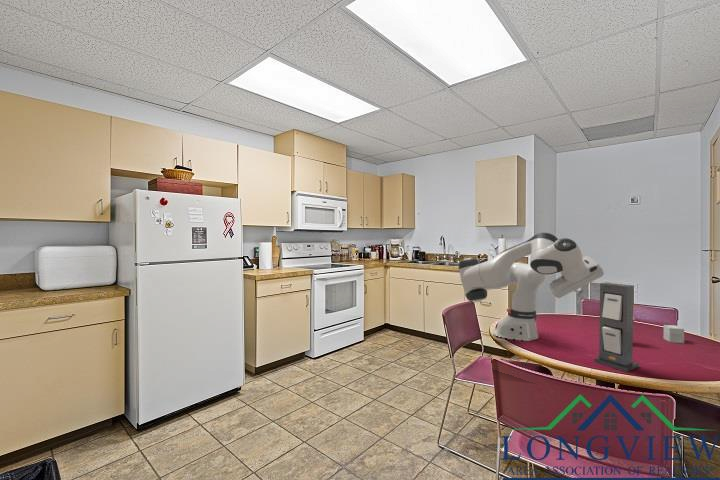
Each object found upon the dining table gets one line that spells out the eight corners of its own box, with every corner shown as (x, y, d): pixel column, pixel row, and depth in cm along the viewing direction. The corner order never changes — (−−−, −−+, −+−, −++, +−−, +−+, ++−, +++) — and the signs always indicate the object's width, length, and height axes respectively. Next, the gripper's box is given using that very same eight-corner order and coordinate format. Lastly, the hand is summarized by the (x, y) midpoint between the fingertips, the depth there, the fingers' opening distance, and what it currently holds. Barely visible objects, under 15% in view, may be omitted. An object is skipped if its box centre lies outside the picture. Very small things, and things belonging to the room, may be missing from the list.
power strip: (627, 372, 135) (628, 287, 134) (594, 361, 146) (595, 283, 145) (639, 366, 140) (640, 285, 139) (606, 357, 151) (607, 281, 150)
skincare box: (684, 343, 167) (684, 328, 167) (669, 342, 169) (669, 327, 169) (677, 339, 173) (677, 325, 173) (662, 338, 175) (663, 324, 175)
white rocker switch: (618, 320, 137) (621, 295, 138) (601, 316, 142) (604, 293, 143) (620, 320, 138) (623, 296, 139) (604, 317, 143) (607, 293, 144)
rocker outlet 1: (620, 354, 138) (618, 331, 137) (604, 349, 144) (601, 327, 142) (622, 352, 139) (620, 329, 138) (606, 348, 145) (604, 326, 143)
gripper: (553, 288, 135) (561, 308, 142) (603, 262, 131) (609, 284, 138) (544, 278, 140) (552, 298, 147) (591, 253, 136) (597, 275, 143)
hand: (580, 291), depth 142 cm, fingers closed
